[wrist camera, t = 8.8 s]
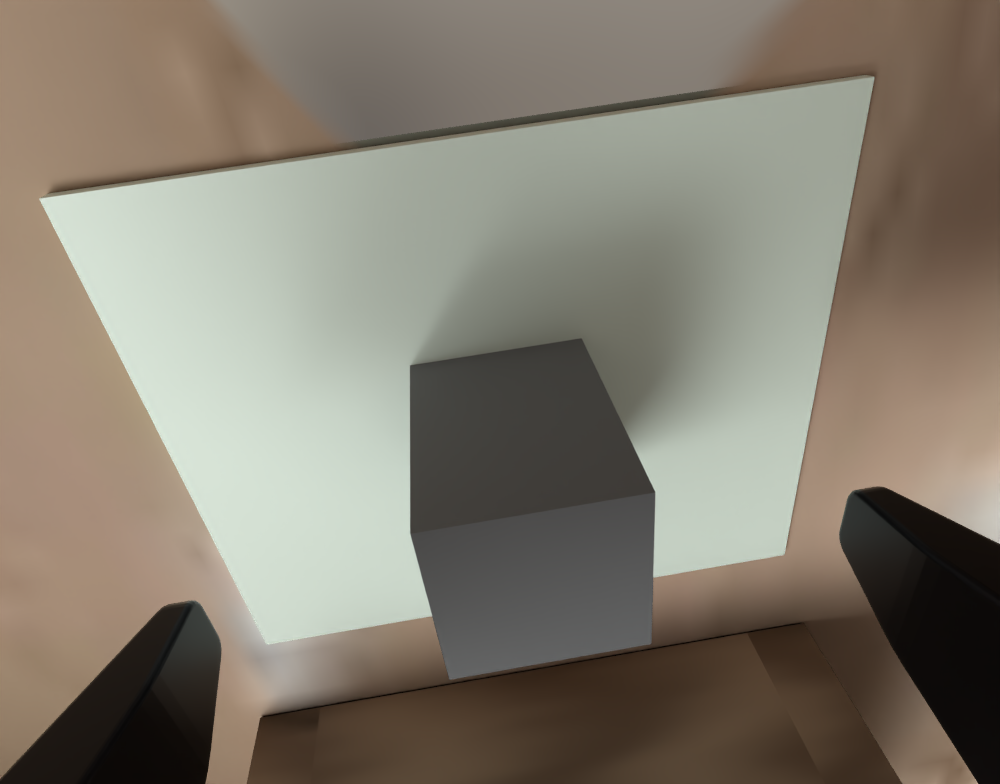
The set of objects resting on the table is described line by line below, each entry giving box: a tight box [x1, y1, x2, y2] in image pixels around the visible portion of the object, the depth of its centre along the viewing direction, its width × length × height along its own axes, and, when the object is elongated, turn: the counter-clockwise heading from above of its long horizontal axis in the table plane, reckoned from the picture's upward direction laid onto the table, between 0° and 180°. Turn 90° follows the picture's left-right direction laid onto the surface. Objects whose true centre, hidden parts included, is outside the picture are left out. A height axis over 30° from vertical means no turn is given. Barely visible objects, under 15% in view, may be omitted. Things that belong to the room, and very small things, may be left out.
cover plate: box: [39, 75, 875, 680], centre depth 11 cm, size 12×10×5 cm
